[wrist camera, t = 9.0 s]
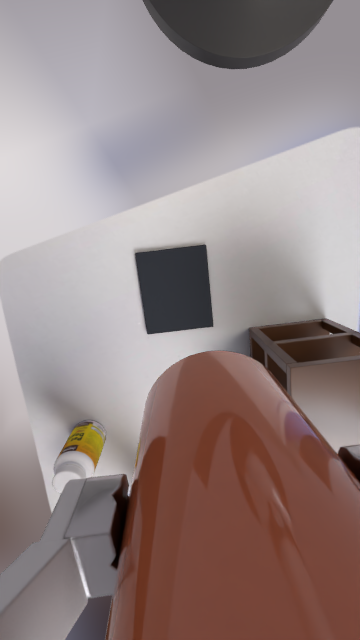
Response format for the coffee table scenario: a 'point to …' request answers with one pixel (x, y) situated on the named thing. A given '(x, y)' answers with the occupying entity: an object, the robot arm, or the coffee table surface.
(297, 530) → the orange two-handled pot
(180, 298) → the mat
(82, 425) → the supplement bottle
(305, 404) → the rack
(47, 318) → the coffee table surface
